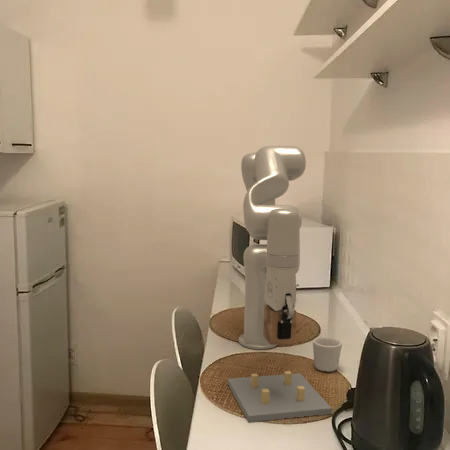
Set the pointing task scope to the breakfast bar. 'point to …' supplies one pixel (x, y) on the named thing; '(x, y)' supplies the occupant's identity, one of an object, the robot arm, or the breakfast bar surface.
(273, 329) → the walnut block
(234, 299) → the breakfast bar surface
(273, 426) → the breakfast bar surface
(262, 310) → the robot arm
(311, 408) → the base board
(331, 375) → the breakfast bar surface
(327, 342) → the cup
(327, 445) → the breakfast bar surface
